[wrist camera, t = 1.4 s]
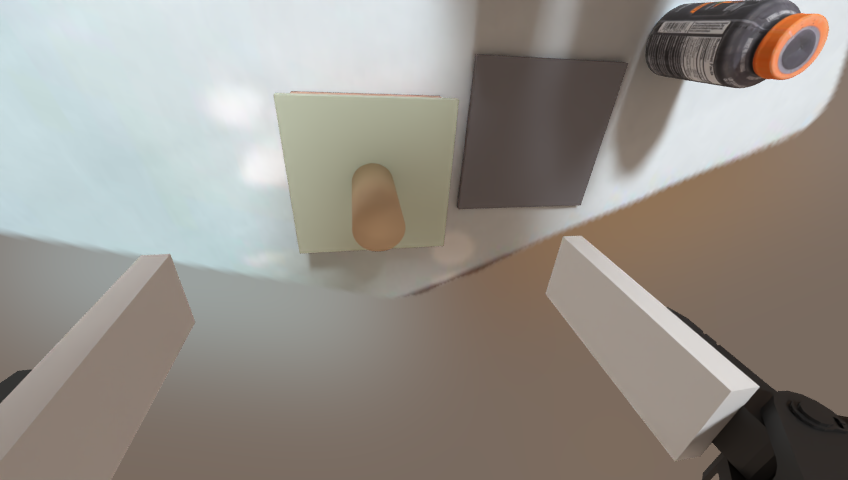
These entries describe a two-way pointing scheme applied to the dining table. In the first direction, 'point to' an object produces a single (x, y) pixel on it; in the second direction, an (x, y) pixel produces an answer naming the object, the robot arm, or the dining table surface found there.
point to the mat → (535, 129)
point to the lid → (367, 169)
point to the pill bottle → (735, 42)
